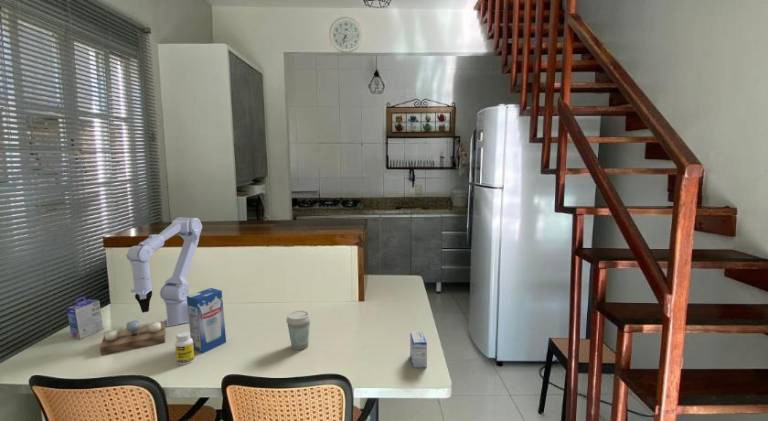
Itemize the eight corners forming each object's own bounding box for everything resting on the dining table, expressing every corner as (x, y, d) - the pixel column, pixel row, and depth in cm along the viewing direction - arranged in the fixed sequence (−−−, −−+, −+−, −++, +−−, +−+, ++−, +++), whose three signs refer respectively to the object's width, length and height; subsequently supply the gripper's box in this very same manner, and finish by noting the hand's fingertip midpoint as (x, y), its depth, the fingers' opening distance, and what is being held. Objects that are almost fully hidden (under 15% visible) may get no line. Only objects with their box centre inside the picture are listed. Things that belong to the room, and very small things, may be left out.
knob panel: (165, 330, 167) (164, 323, 166) (164, 342, 156) (164, 335, 156) (105, 341, 158) (104, 334, 158) (101, 355, 147) (99, 347, 147)
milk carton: (202, 353, 147) (197, 299, 144) (191, 349, 150) (186, 296, 147) (226, 342, 156) (221, 290, 152) (215, 338, 159) (211, 287, 156)
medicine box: (410, 356, 142) (409, 331, 141) (423, 355, 143) (422, 331, 141) (413, 368, 134) (413, 342, 133) (427, 367, 135) (427, 342, 133)
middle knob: (140, 330, 159) (139, 319, 159) (139, 334, 156) (138, 323, 155) (128, 333, 157) (126, 322, 157) (127, 337, 154) (125, 325, 153)
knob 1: (119, 340, 156) (118, 328, 156) (118, 344, 153) (117, 333, 152) (106, 342, 155) (105, 331, 154) (105, 347, 151) (103, 335, 150)
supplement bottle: (176, 366, 139) (173, 338, 137) (177, 359, 144) (174, 332, 142) (194, 362, 141) (191, 335, 139) (194, 355, 146) (192, 329, 144)
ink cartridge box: (94, 327, 172) (89, 293, 169) (104, 328, 170) (99, 294, 168) (69, 337, 162) (64, 302, 160) (80, 339, 161) (74, 303, 158)
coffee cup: (291, 354, 145) (289, 321, 143) (285, 344, 153) (283, 313, 151) (315, 348, 149) (313, 316, 147) (308, 338, 157) (306, 308, 155)
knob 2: (161, 331, 163) (160, 321, 162) (161, 335, 159) (160, 324, 158) (150, 334, 161) (148, 323, 160) (149, 338, 157) (148, 327, 157)
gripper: (130, 274, 163) (134, 307, 165) (128, 284, 150) (132, 320, 152) (151, 271, 166) (154, 304, 168) (150, 281, 153) (154, 316, 155)
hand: (145, 311), depth 160 cm, fingers closed
